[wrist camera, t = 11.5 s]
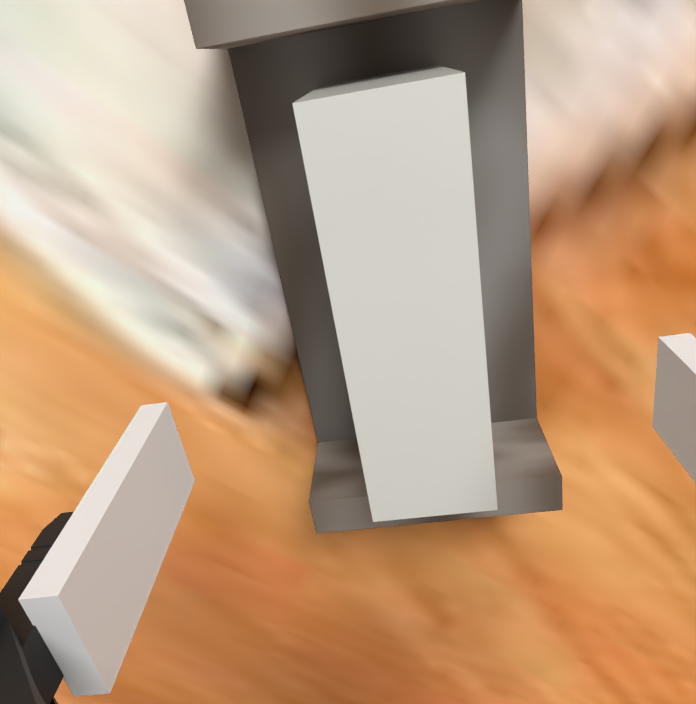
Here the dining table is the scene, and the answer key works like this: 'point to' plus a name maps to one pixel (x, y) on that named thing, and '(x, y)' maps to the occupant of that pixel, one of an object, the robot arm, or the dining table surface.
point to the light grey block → (405, 284)
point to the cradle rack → (300, 229)
